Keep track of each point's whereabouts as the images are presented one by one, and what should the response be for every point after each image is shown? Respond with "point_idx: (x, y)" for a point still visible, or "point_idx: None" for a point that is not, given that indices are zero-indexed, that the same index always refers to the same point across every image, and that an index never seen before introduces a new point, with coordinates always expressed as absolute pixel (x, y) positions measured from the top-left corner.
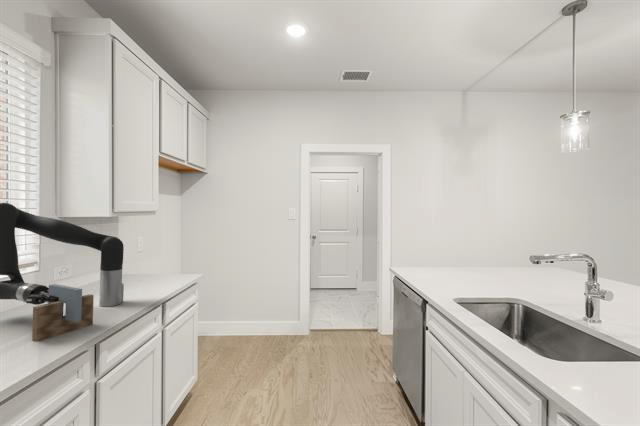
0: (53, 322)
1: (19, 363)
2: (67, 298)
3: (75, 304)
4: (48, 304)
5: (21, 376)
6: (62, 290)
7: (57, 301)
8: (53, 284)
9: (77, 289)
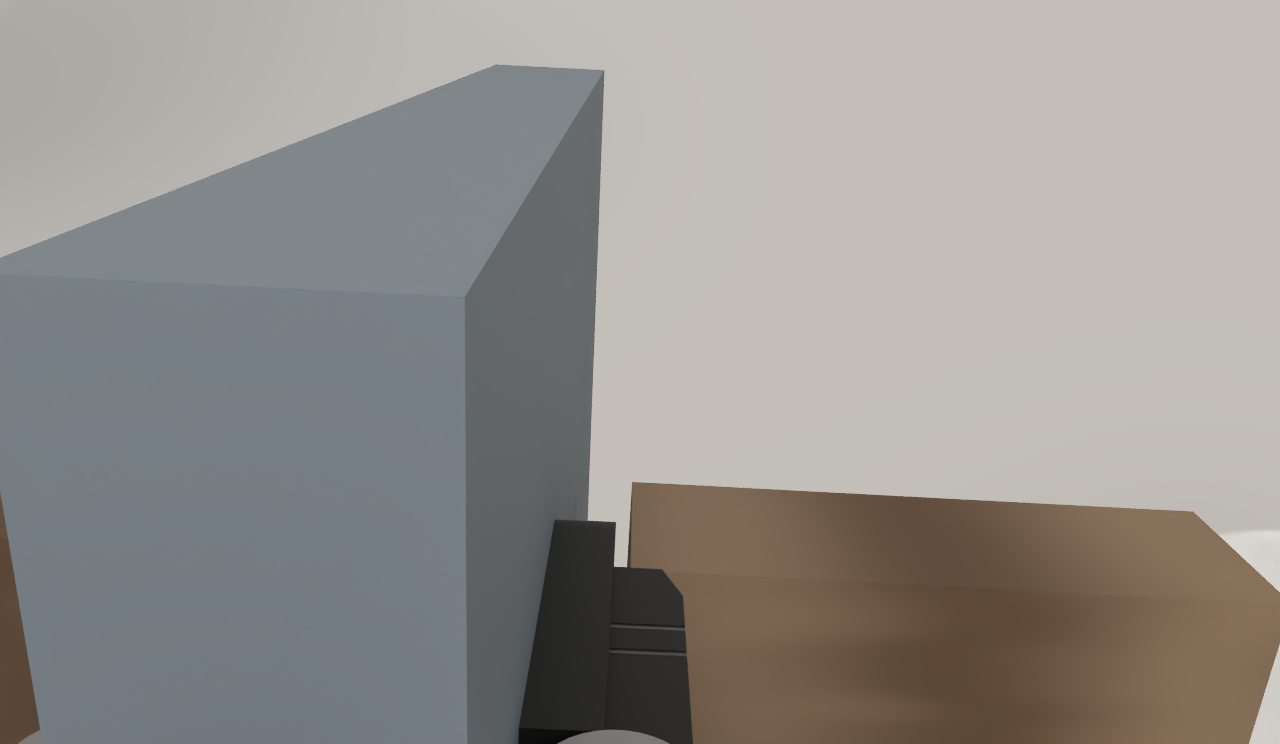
0: None
1: (1267, 692)
2: (583, 346)
3: (593, 354)
4: (927, 529)
5: (1241, 544)
6: (574, 212)
7: (643, 563)
8: (207, 245)
9: (569, 69)
